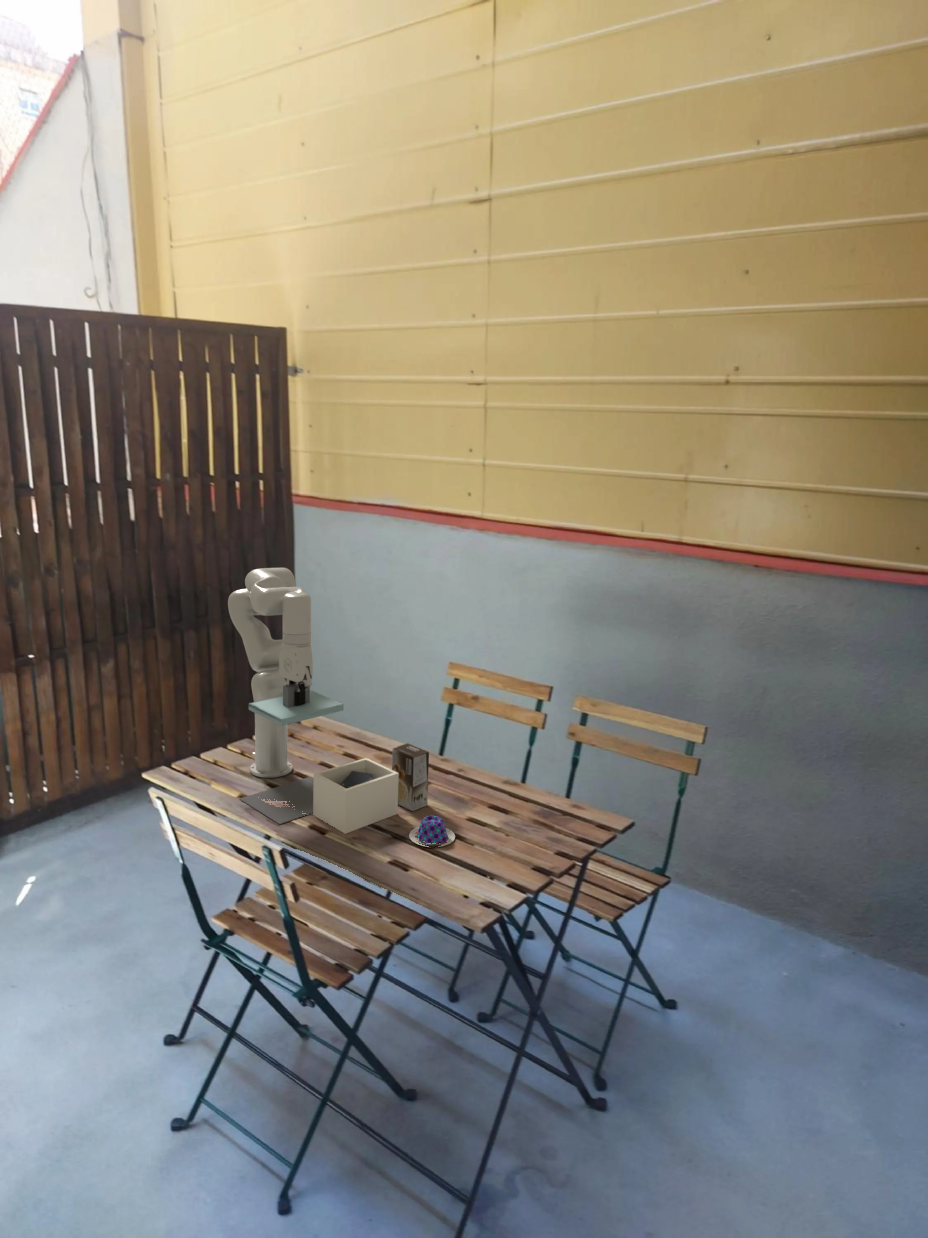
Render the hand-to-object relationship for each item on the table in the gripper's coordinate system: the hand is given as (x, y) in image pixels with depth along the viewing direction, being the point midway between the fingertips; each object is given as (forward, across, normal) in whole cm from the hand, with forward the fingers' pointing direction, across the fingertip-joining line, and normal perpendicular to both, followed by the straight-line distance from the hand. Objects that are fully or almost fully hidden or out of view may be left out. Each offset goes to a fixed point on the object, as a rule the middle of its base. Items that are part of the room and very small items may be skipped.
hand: (296, 702), depth 228 cm
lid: (+2, 0, 0) cm, 2 cm away
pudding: (+29, +41, +14) cm, 52 cm away
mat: (+29, 0, 0) cm, 29 cm away
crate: (+29, +18, +7) cm, 35 cm away
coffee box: (+29, +22, +23) cm, 43 cm away
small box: (+29, +18, +7) cm, 35 cm away
